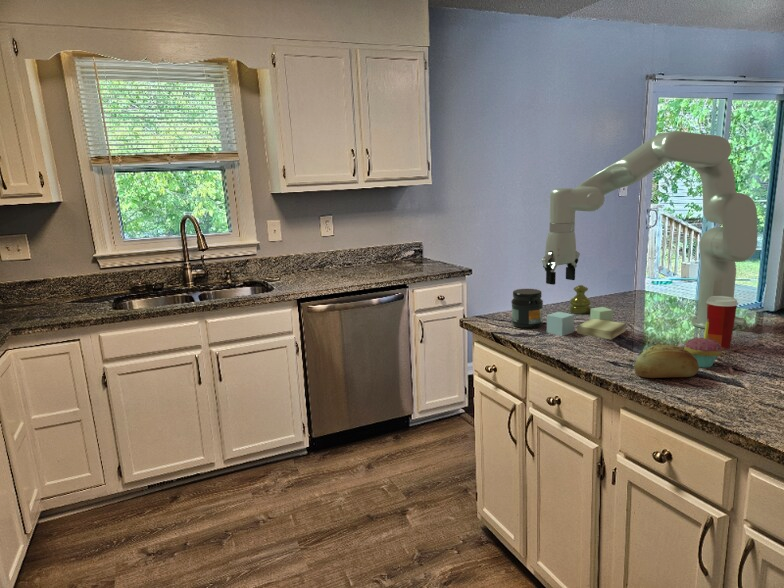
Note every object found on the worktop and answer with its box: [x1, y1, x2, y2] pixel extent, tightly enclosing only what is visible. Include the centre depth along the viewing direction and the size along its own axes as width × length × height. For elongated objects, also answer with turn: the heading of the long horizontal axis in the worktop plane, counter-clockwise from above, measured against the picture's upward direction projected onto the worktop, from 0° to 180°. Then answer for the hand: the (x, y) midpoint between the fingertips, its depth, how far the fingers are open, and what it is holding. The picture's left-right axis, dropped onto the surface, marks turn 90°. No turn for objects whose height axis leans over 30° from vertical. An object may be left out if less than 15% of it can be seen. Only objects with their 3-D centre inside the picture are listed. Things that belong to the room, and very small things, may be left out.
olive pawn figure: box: [569, 284, 592, 315], centre depth 190 cm, size 7×7×10 cm
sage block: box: [589, 306, 614, 321], centre depth 174 cm, size 5×5×5 cm
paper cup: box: [706, 296, 739, 350], centre depth 145 cm, size 8×8×14 cm
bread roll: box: [633, 344, 700, 379], centre depth 127 cm, size 10×15×8 cm, turn 85°
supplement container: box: [510, 288, 544, 329], centre depth 176 cm, size 10×10×12 cm
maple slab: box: [576, 318, 627, 340], centre depth 165 cm, size 11×11×3 cm
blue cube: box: [546, 311, 575, 337], centre depth 167 cm, size 6×6×6 cm
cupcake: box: [683, 320, 723, 368], centre depth 133 cm, size 9×8×12 cm
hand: (560, 281), depth 164 cm, fingers open, 9 cm apart
